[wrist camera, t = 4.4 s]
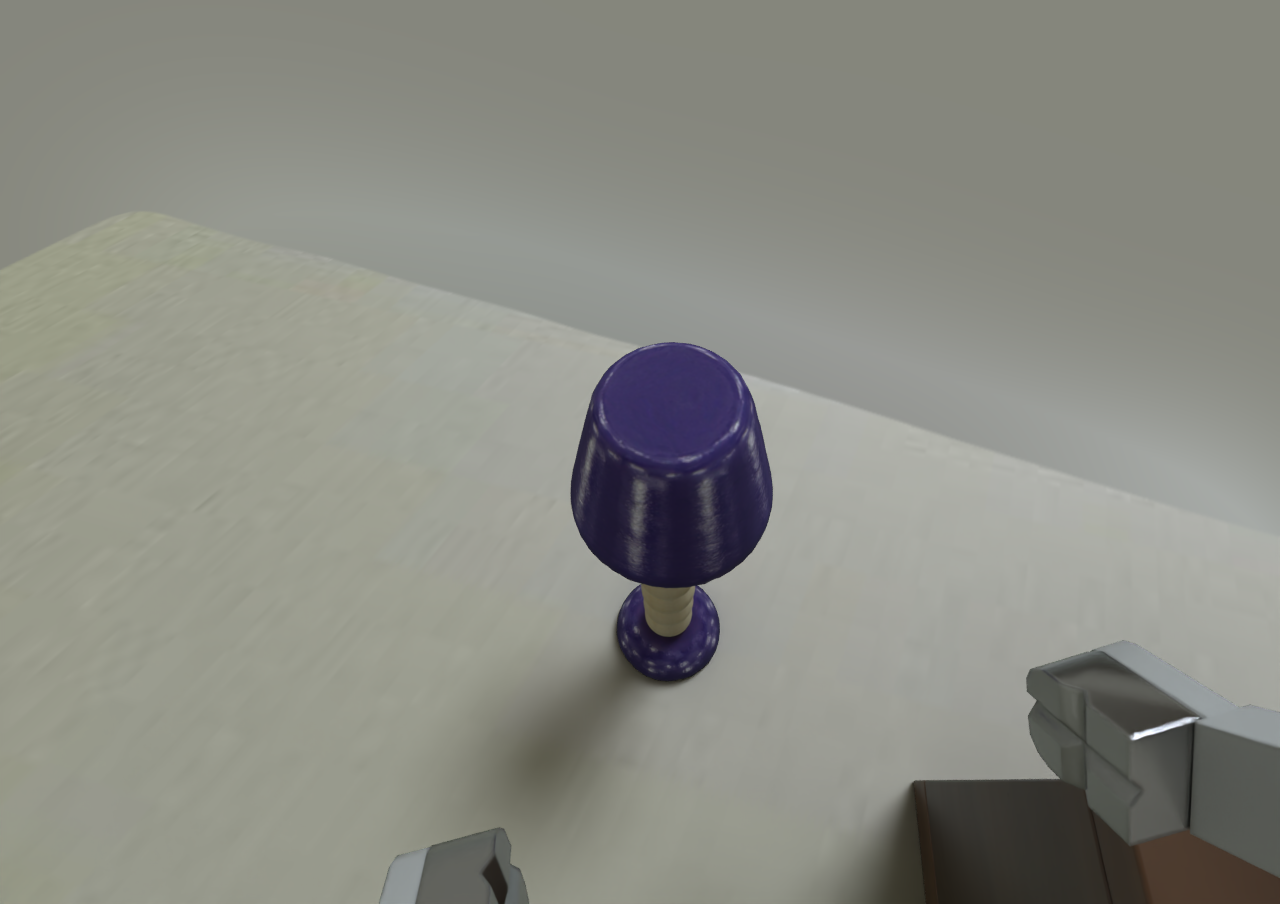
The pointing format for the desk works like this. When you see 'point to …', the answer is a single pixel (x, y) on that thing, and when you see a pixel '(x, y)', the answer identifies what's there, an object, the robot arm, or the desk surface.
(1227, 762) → the robot arm
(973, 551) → the desk surface
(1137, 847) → the shelf
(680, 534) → the toy lamp
